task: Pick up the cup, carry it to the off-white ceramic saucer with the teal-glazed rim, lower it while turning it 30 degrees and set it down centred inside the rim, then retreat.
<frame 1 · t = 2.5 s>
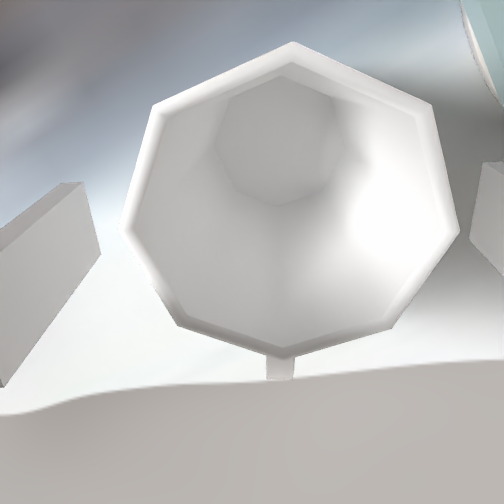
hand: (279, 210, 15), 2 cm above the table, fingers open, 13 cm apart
cup: (277, 173, 17), on the table
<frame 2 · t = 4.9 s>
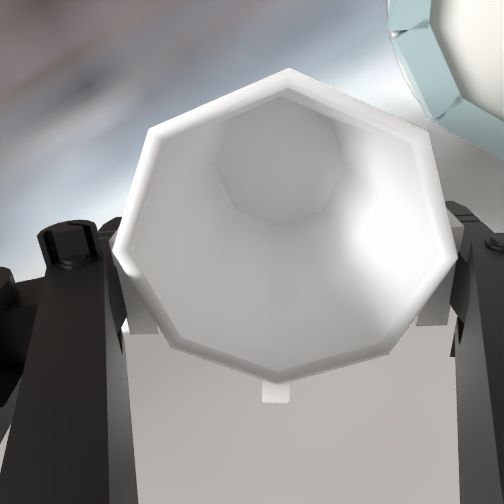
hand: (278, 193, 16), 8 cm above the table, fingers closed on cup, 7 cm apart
cup: (277, 192, 17), point 8 cm above the table, touching gripper
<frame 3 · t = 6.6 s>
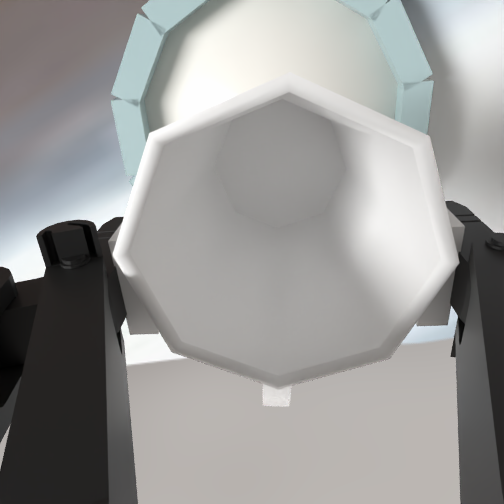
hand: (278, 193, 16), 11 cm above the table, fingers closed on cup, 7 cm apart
cup: (278, 194, 17), point 10 cm above the table, touching gripper
saucer: (270, 123, 26), on the table
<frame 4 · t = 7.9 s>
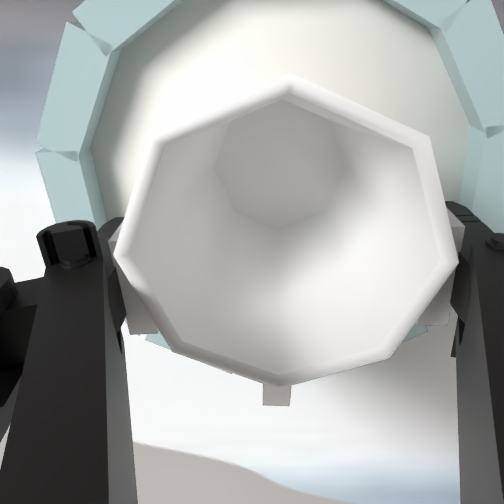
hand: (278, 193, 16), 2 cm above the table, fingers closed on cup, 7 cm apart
cup: (278, 195, 17), point 1 cm above the table, touching gripper
saucer: (277, 179, 18), on the table
when the fingers open (1 cm above the table, at t = 8.6 s): cup moves 3 cm, resting on saucer.
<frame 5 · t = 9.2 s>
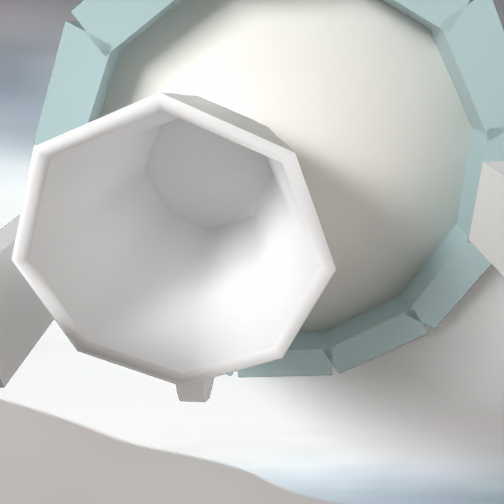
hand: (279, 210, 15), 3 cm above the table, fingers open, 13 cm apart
cup: (214, 197, 17), point 1 cm above the table, touching saucer
saucer: (277, 180, 18), on the table
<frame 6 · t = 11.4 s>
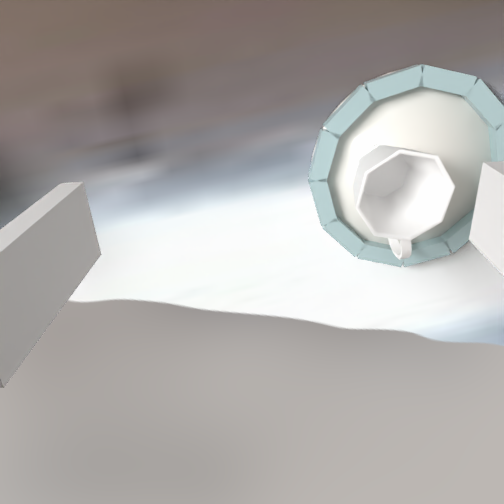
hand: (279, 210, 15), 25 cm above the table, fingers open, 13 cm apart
cup: (379, 183, 39), point 1 cm above the table, touching saucer
saucer: (405, 170, 39), on the table
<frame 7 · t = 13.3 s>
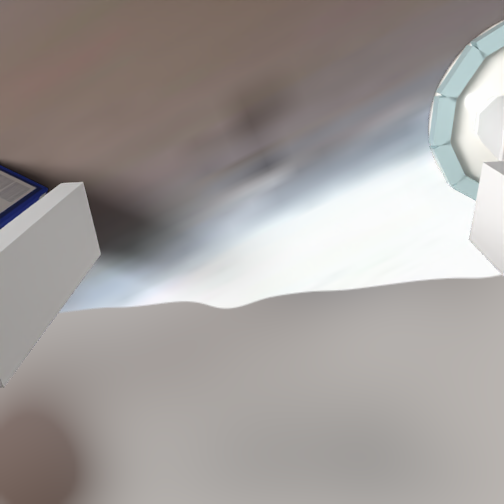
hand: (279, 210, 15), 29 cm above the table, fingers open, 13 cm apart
cup: (500, 132, 41), point 1 cm above the table, touching saucer
milk carton: (9, 199, 46), on the table
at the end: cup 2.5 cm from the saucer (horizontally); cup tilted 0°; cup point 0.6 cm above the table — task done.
